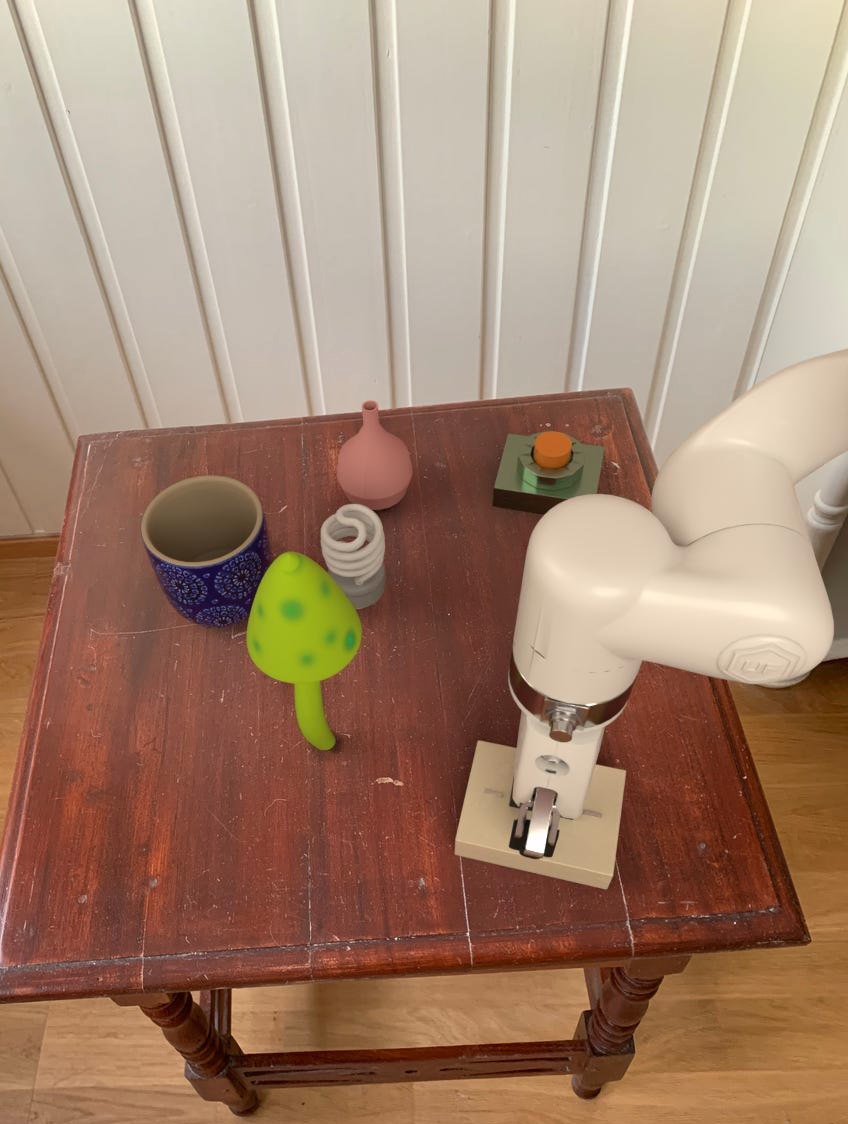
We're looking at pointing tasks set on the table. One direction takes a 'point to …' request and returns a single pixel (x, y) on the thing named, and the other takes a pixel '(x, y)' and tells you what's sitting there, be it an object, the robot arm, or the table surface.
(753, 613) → the robot arm
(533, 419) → the table surface
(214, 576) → the planter
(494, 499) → the control block
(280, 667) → the mushroom
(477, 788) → the panel
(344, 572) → the light bulb
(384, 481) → the pink vase
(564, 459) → the button
